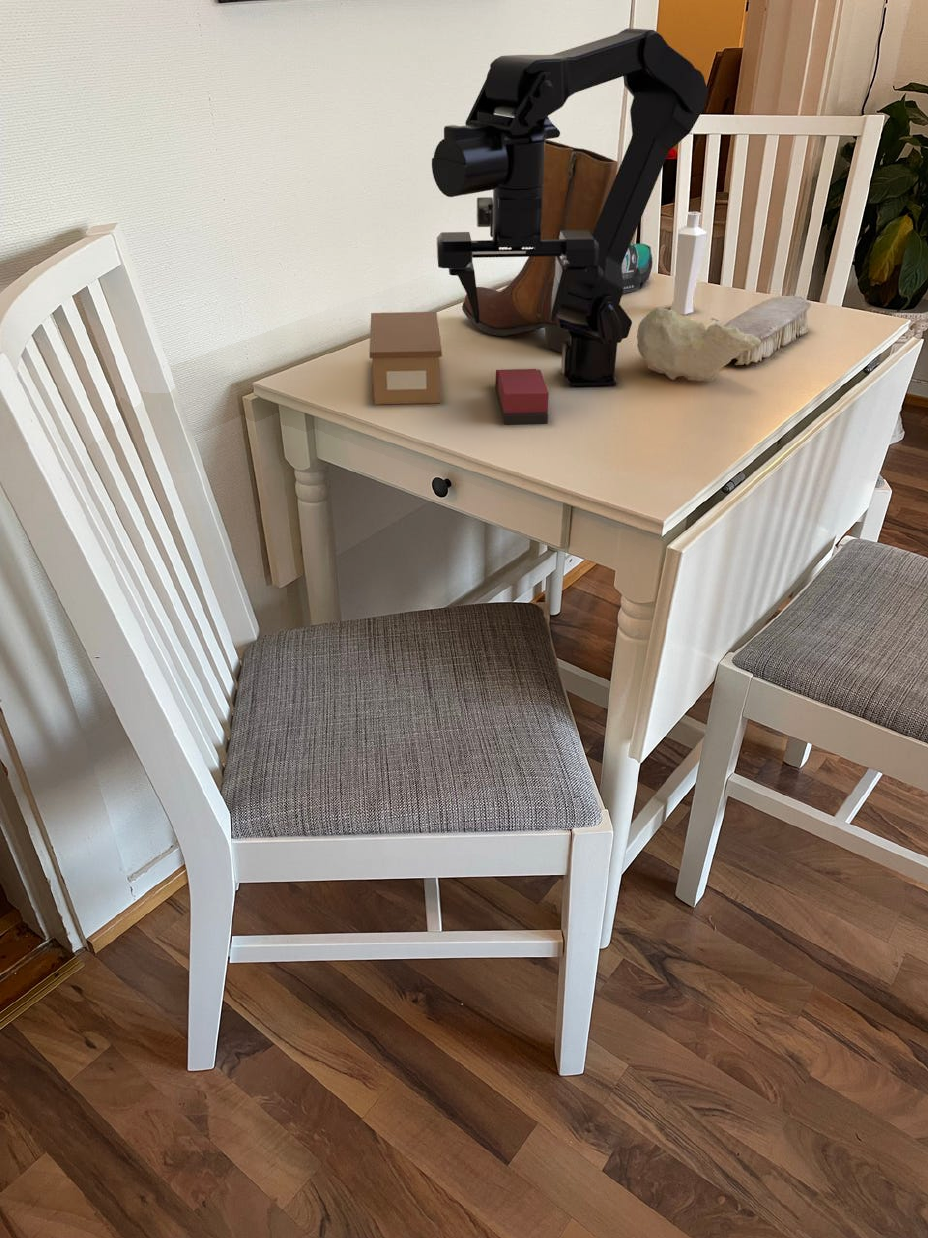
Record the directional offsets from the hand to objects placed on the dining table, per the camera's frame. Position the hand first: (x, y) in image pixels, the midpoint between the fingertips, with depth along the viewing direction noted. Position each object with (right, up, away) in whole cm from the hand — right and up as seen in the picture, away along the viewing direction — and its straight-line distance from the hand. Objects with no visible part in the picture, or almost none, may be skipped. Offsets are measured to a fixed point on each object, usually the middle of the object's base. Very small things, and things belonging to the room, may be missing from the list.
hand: (514, 321), depth 118 cm
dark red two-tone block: (+1, -9, +6) cm, 11 cm away
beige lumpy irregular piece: (+26, -3, +14) cm, 30 cm away
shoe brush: (+38, +4, +25) cm, 46 cm away
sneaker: (+18, +21, +49) cm, 56 cm away
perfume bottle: (+29, +13, +38) cm, 50 cm away
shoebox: (-14, -4, +12) cm, 19 cm away
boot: (+4, +6, +28) cm, 29 cm away
